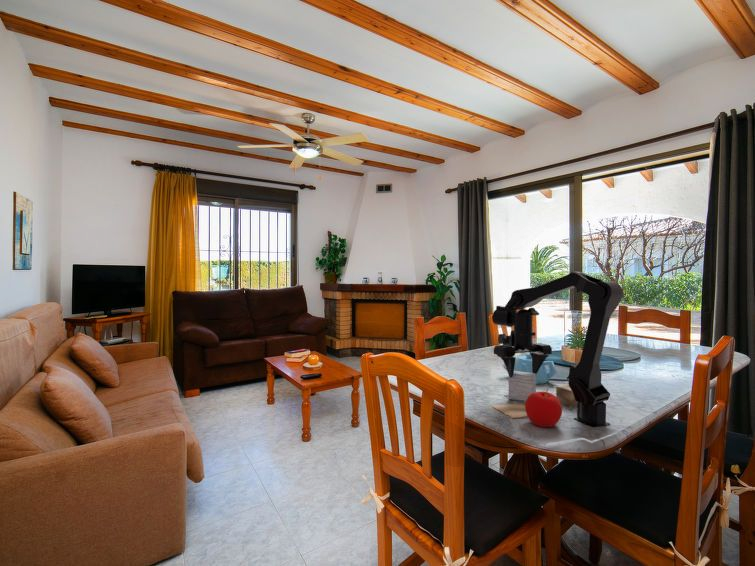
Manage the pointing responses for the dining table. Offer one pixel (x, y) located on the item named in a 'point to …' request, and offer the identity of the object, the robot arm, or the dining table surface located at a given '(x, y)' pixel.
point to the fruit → (543, 409)
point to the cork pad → (512, 410)
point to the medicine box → (521, 385)
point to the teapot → (526, 366)
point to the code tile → (517, 400)
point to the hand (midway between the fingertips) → (522, 376)
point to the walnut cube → (565, 395)
